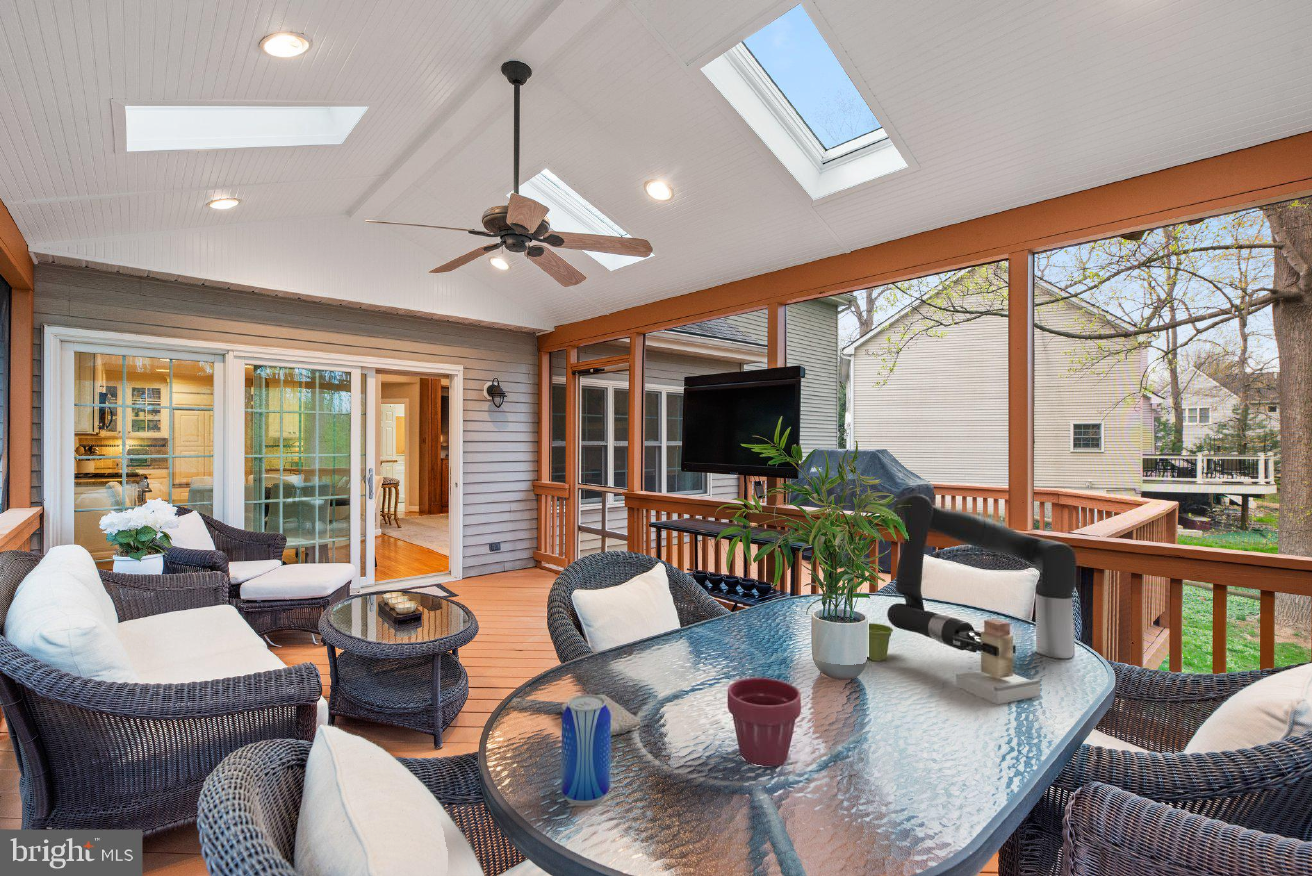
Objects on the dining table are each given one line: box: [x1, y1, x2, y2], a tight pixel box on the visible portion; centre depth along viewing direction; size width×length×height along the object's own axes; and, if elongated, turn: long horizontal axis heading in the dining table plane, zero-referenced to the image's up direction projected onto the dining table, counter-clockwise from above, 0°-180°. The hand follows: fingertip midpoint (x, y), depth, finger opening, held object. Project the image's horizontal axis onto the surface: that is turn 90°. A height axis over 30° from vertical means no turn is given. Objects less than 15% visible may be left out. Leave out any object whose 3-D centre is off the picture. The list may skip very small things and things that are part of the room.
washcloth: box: [560, 694, 642, 734], centre depth 138 cm, size 12×18×3 cm, turn 35°
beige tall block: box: [980, 618, 1014, 679], centre depth 156 cm, size 5×5×13 cm
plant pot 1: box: [727, 677, 802, 767], centre depth 122 cm, size 14×14×13 cm
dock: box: [955, 669, 1041, 705], centre depth 156 cm, size 14×12×4 cm
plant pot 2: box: [868, 622, 894, 662], centre depth 181 cm, size 9×9×9 cm
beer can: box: [560, 694, 612, 807], centre depth 108 cm, size 8×8×16 cm
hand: (1006, 650), depth 154 cm, fingers closed on beige tall block, 5 cm apart
